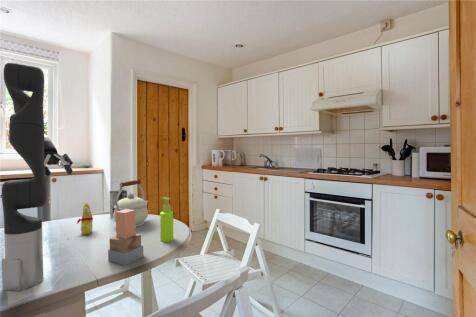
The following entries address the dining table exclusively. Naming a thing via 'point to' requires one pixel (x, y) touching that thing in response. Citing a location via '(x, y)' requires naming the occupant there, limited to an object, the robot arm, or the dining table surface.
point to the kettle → (132, 203)
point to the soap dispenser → (166, 222)
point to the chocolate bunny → (86, 220)
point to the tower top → (125, 243)
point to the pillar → (125, 223)
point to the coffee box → (113, 197)
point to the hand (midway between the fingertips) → (60, 174)
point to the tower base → (125, 255)
